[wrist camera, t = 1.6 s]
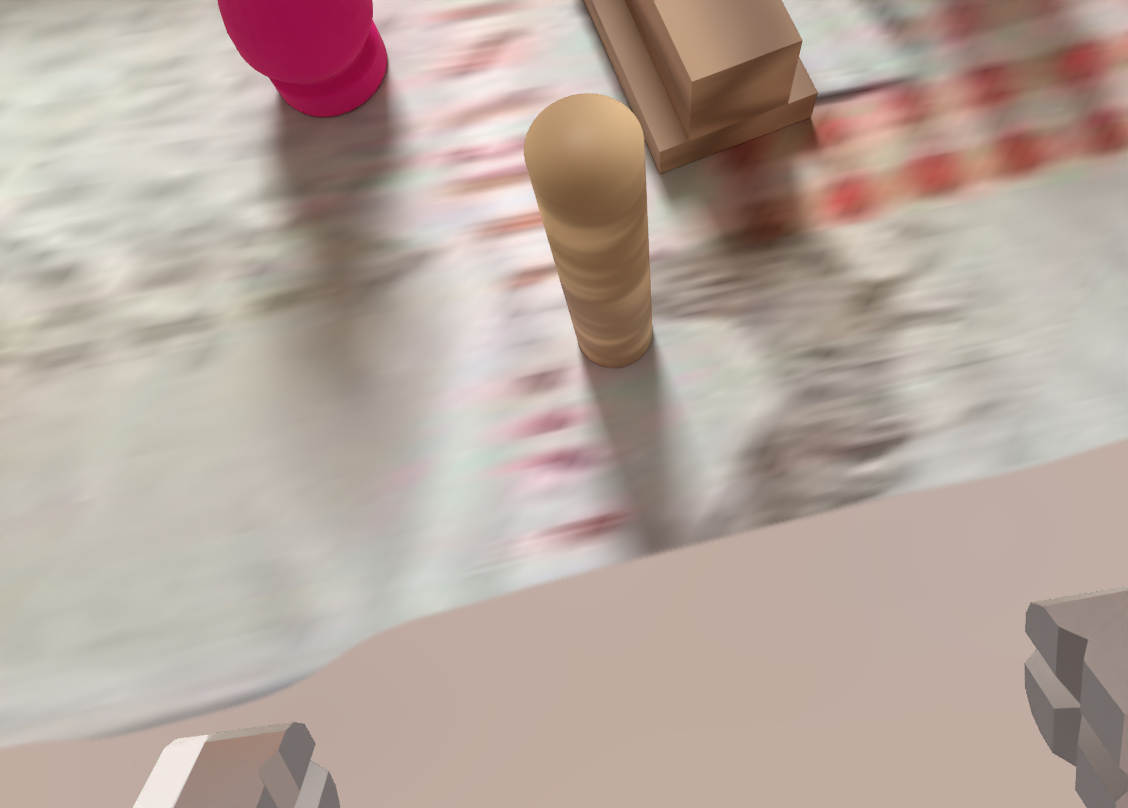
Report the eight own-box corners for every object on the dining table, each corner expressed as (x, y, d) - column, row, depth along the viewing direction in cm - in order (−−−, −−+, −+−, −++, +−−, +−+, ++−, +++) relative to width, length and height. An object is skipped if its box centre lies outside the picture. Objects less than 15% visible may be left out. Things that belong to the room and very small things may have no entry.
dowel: (591, 378, 40) (546, 217, 25) (566, 312, 41) (508, 118, 26) (663, 352, 40) (662, 174, 25) (636, 286, 41) (619, 77, 26)
